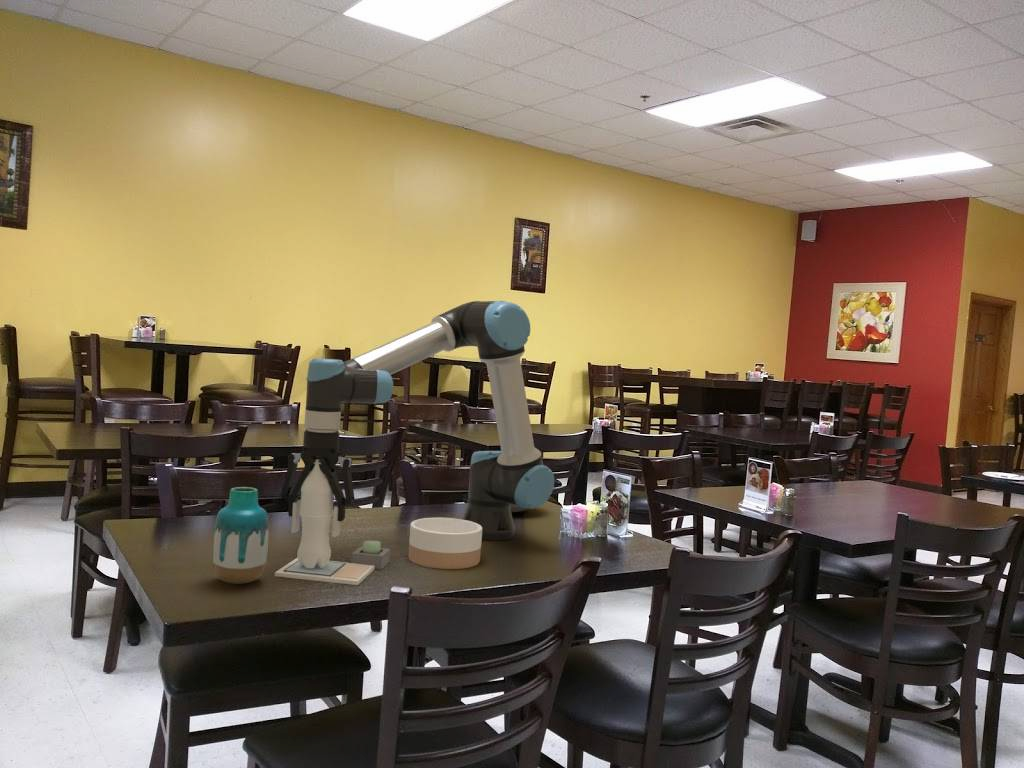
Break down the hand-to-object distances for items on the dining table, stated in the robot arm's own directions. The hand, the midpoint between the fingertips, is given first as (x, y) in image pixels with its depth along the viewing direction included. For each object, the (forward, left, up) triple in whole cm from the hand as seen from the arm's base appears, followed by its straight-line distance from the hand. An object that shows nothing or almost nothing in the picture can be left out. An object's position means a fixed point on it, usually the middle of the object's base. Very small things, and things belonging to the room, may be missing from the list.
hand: (315, 533), depth 181 cm
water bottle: (0, 0, -7) cm, 7 cm away
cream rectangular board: (-3, 0, -8) cm, 9 cm away
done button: (-10, -10, -7) cm, 16 cm away
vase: (+11, +13, -9) cm, 19 cm away
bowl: (-25, -21, -9) cm, 34 cm away
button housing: (-10, -10, -8) cm, 16 cm away
